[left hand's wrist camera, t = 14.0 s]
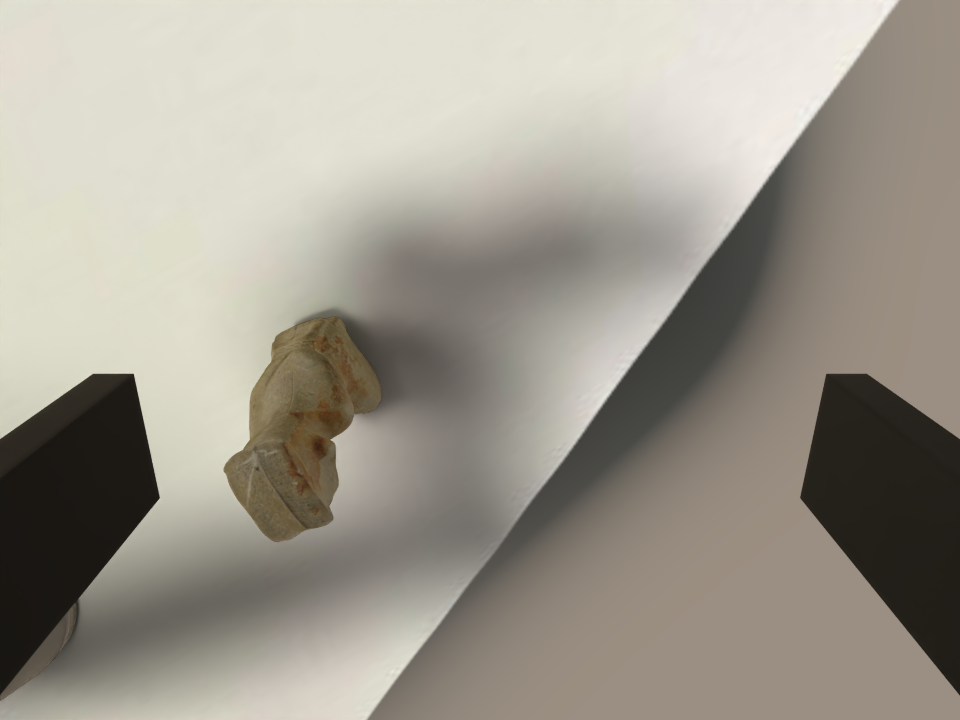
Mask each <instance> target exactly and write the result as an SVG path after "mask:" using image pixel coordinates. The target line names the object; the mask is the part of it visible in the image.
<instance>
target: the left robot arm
mask: <svg viewBox="0 0 960 720" xmlns="http://www.w3.org/2000/svg"><path fill="white" fill-rule="evenodd" d="M159 498H160V497H159V492H158V487H157V482H156V478H155V473H154V468H153V463H152V459H151V454H150V449H149V444H148V440H147V435H146V430H145V425H144V421H143V416H142V411H141V406H140V402H139V397H138V392H137V387H136V383H135V378H134V374H92V375H91V376H89V377H88V378H87V379H85V380H84V381H82V382H81V383H80V384H78V385H77V386H75V387H74V388H72V389H71V390H70V391H68V392H67V393H65V394H64V395H62V396H61V397H60V398H58V399H57V400H55V401H54V402H52V403H51V404H50V405H48V406H47V407H45V408H44V409H43V410H41V411H40V412H38V413H37V414H35V415H34V416H33V417H31V418H30V419H28V420H27V421H25V422H24V423H23V424H21V425H20V426H18V427H17V428H15V429H14V430H13V431H11V432H10V433H8V434H7V435H6V436H4V437H3V438H1V439H0V701H1V700H2V699H4V698H5V697H7V696H8V695H10V694H11V693H12V692H14V691H15V690H17V689H18V688H19V687H21V686H22V685H24V684H25V683H27V682H28V681H29V680H31V679H32V678H34V677H35V676H36V675H38V674H39V673H40V672H41V671H42V670H43V669H44V668H45V667H46V666H47V665H48V664H50V663H51V662H52V660H53V659H54V658H55V657H56V656H57V655H58V653H59V652H60V651H61V649H62V648H63V647H64V645H65V644H66V643H67V641H68V640H69V638H70V636H71V634H72V632H73V630H74V627H75V623H76V615H77V608H76V601H77V600H78V598H79V597H80V596H81V595H82V594H83V592H84V591H85V590H86V589H87V587H88V586H89V585H90V584H91V582H92V581H93V580H94V579H95V577H96V576H97V575H98V574H99V573H100V571H101V570H102V569H103V568H104V566H105V565H106V564H107V563H108V561H109V560H110V559H111V558H112V556H113V555H114V554H115V553H116V551H117V550H118V549H119V548H120V547H121V545H122V544H123V543H124V542H125V540H126V539H127V538H128V537H129V535H130V534H131V533H132V532H133V530H134V529H135V528H136V527H137V526H138V524H139V523H140V522H141V521H142V519H143V518H144V517H145V516H146V514H147V513H148V512H149V511H150V509H151V508H152V507H153V506H154V505H155V503H156V502H157V501H158V500H159ZM800 498H801V500H802V501H803V502H804V503H805V504H806V506H807V507H808V508H809V509H810V511H811V512H812V513H813V514H814V516H815V517H816V518H817V519H818V521H819V522H820V523H821V524H822V525H823V527H824V528H825V529H826V530H827V532H828V533H829V534H830V535H831V537H832V538H833V539H834V540H835V542H836V543H837V544H838V545H839V547H840V548H841V549H842V550H843V551H844V553H845V554H846V555H847V556H848V558H849V559H850V560H851V561H852V563H853V564H854V565H855V566H856V568H857V569H858V570H859V571H860V573H861V574H862V575H863V576H864V577H865V579H866V580H867V581H868V582H869V584H870V585H871V586H872V587H873V589H874V590H875V591H876V592H877V594H878V595H879V596H880V597H881V598H882V600H883V601H884V602H885V603H886V605H887V606H888V607H889V608H890V610H891V611H892V612H893V613H894V615H895V616H896V617H897V618H898V619H899V621H900V622H901V623H902V624H903V626H904V627H905V628H906V629H907V631H908V632H909V633H910V634H911V636H912V637H913V638H914V639H915V641H916V642H917V643H918V644H919V645H920V647H921V648H922V649H923V650H924V652H925V653H926V654H927V655H928V657H929V658H930V659H931V660H932V662H933V663H934V664H935V665H936V666H937V668H938V669H939V670H940V671H941V673H942V674H943V675H944V676H945V678H946V679H947V680H948V681H949V682H950V684H951V685H952V686H953V687H954V689H955V690H956V691H957V692H958V694H959V695H960V439H959V438H957V437H956V436H954V435H953V434H952V433H950V432H949V431H947V430H946V429H945V428H943V427H942V426H940V425H939V424H937V423H936V422H934V421H933V420H932V419H930V418H929V417H927V416H926V415H925V414H923V413H922V412H920V411H919V410H917V409H916V408H915V407H913V406H912V405H910V404H909V403H907V402H906V401H905V400H903V399H902V398H900V397H899V396H897V395H896V394H895V393H893V392H892V391H890V390H889V389H888V388H886V387H885V386H883V385H882V384H880V383H879V382H878V381H876V380H875V379H873V378H872V377H871V376H869V375H868V374H826V378H825V383H824V387H823V392H822V397H821V402H820V406H819V411H818V416H817V421H816V425H815V430H814V435H813V440H812V444H811V449H810V454H809V459H808V464H807V468H806V473H805V478H804V482H803V487H802V492H801V497H800Z"/></svg>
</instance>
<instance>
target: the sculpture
mask: <svg viewBox="0 0 960 720" xmlns="http://www.w3.org/2000/svg"><path fill="white" fill-rule="evenodd" d="M271 356H272V361H271V363H270V364H269V365H268V367H267V368H266V369H265V371H264V373H263V374H262V376H261V377H260V379H259V380H258V382H257V383H256V385H255V387H254V388H253V390H252V392H251V397H250V416H249V428H250V441H249V442H248V443H247V445H246V446H245V447H244V449H243V450H242V451H240V452H238V453H236V454H235V455H234V456H232V457H231V458H230V459H229V461H228V462H227V463H226V464H225V466H224V472H225V474H226V475H227V478H228V482H229V485H230V487H231V489H232V491H233V493H234V494H235V496H236V498H237V499H238V501H239V502H240V503H241V505H242V506H243V507H244V508H245V510H246V511H247V512H248V513H249V515H250V516H251V517H252V519H253V520H254V521H255V523H256V524H257V526H258V527H259V529H260V530H261V531H262V532H263V533H264V534H265V535H266V536H267V537H268V538H270V539H271V540H273V541H274V542H280V541H286V540H290V539H292V538H294V537H295V536H297V535H298V534H300V533H301V532H303V531H305V530H308V529H313V528H318V527H321V526H325V525H327V524H328V523H330V522H331V521H332V520H333V514H332V512H331V509H330V507H329V505H330V503H331V501H332V499H333V495H334V493H335V492H336V490H337V488H338V485H339V480H338V474H337V469H336V447H335V443H334V442H333V441H331V440H330V439H332V438H333V437H335V436H337V435H339V434H340V433H342V432H343V431H345V430H346V429H347V428H348V427H349V426H350V424H351V422H352V420H353V417H354V414H365V413H368V412H370V411H372V410H374V409H375V408H376V407H377V406H378V405H379V403H380V401H381V394H382V392H381V386H380V383H379V380H378V378H377V376H376V374H375V372H374V371H373V369H372V368H371V366H370V364H369V363H368V362H367V360H366V359H365V357H364V356H363V355H362V353H361V352H360V351H359V349H358V348H357V347H356V346H355V344H354V343H353V341H352V340H351V339H350V337H349V335H348V333H347V331H346V327H345V325H344V323H343V322H342V321H341V320H340V319H339V318H338V317H335V316H334V317H330V318H326V319H324V318H317V319H313V320H310V321H307V322H304V323H301V324H299V325H296V326H294V327H292V328H290V329H288V330H286V331H284V332H282V333H280V334H278V335H277V336H276V337H275V341H274V342H273V344H272V352H271Z"/></svg>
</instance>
